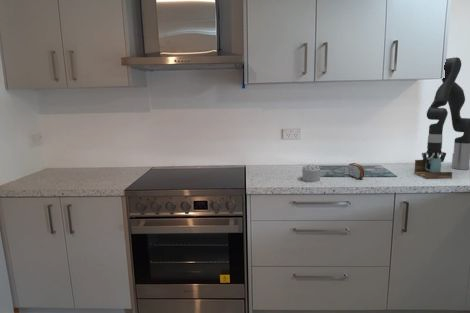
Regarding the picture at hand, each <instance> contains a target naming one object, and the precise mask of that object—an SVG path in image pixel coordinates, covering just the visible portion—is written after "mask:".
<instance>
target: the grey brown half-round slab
mask: <svg viewBox="0 0 470 313" xmlns="http://www.w3.org/2000/svg"><path fill="white" fill-rule="evenodd" d="M348 174H349V175H350V176H351V177H352V178H355V179H357V180H361V179H364V178H365V169H364V167H363V166H362V165H361V164H358V163H357V162H356V163H355V162H352V163H349V164H348Z"/></svg>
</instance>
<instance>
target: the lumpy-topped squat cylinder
mask: <svg viewBox="0 0 470 313" xmlns="http://www.w3.org/2000/svg"><path fill="white" fill-rule="evenodd" d="M301 170H302V173H301V174H302V175H301V176H302V177H301V178H302V181H303V180H304V182H306V181H307V182H306V183H318V182H320V181H321V168H320V166H319V165H315V164H306V165H303V166H302V169H301ZM317 181H318V182H317Z"/></svg>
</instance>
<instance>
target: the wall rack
mask: <svg viewBox="0 0 470 313" xmlns="http://www.w3.org/2000/svg"><path fill="white" fill-rule="evenodd" d="M425 167H426V162H424V161H423V159H414V172H413V174H414V175H416V176H419V177H420V178H423V179H425V180H434V179H435V180H437V179H452V178H453V172H451V171H440V172H430V171H428V170H425Z"/></svg>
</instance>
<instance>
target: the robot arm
mask: <svg viewBox="0 0 470 313" xmlns="http://www.w3.org/2000/svg"><path fill="white" fill-rule="evenodd" d="M445 59H446V62H445V65H444V70H445V78H443V79H441V81H442V84H440V86H438V87H437V90H436V92H435V95H434V98H433V101H432V102H431V104H430V106H429V108H428V109H427V111H426V118H427V119H428V120H430V121H431V120H432V121H437V122H436V123H431V124H429V126H428V135H427V136H428V137H427V144H426V145H427V146H426V149H427V150H426V152H422V153H421V157H422V160H423V161H424V162H426V163H427V166H426V168H427V169H429V170H430V165H431V164H430V163H431V159H433V158H439V159H441V163H443V162H444V161H445V158H446V155H447V152H445V151H442V149H443V129H444V126H445V123H446V119H447V118H448V113H449V112H448V110H447V108H445V107H444V106H446V105H447V104H448V106H449V111H450V118H451V123H452V130H454V132H457V133H463V134H462V135H461V136H459V137H456V138H454V142H453V143H454V144H453V145H454V146H453V153H452V159H451V168H452V169H455V170H463V171H464V170H465V171H466V170H469V169H470V117H468V118H467V117H462V116H461V110H462V108H463V107H464V105H465V102H466V95H465V92H464V89H463V87H461V86H460V85H459V84H458V83H457V82H456V80H457V78H458V76H459V73H460V71H461V68H462V59H461V58H460V57H457V56H456V57H455V56H454V57H449V58H445Z"/></svg>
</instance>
